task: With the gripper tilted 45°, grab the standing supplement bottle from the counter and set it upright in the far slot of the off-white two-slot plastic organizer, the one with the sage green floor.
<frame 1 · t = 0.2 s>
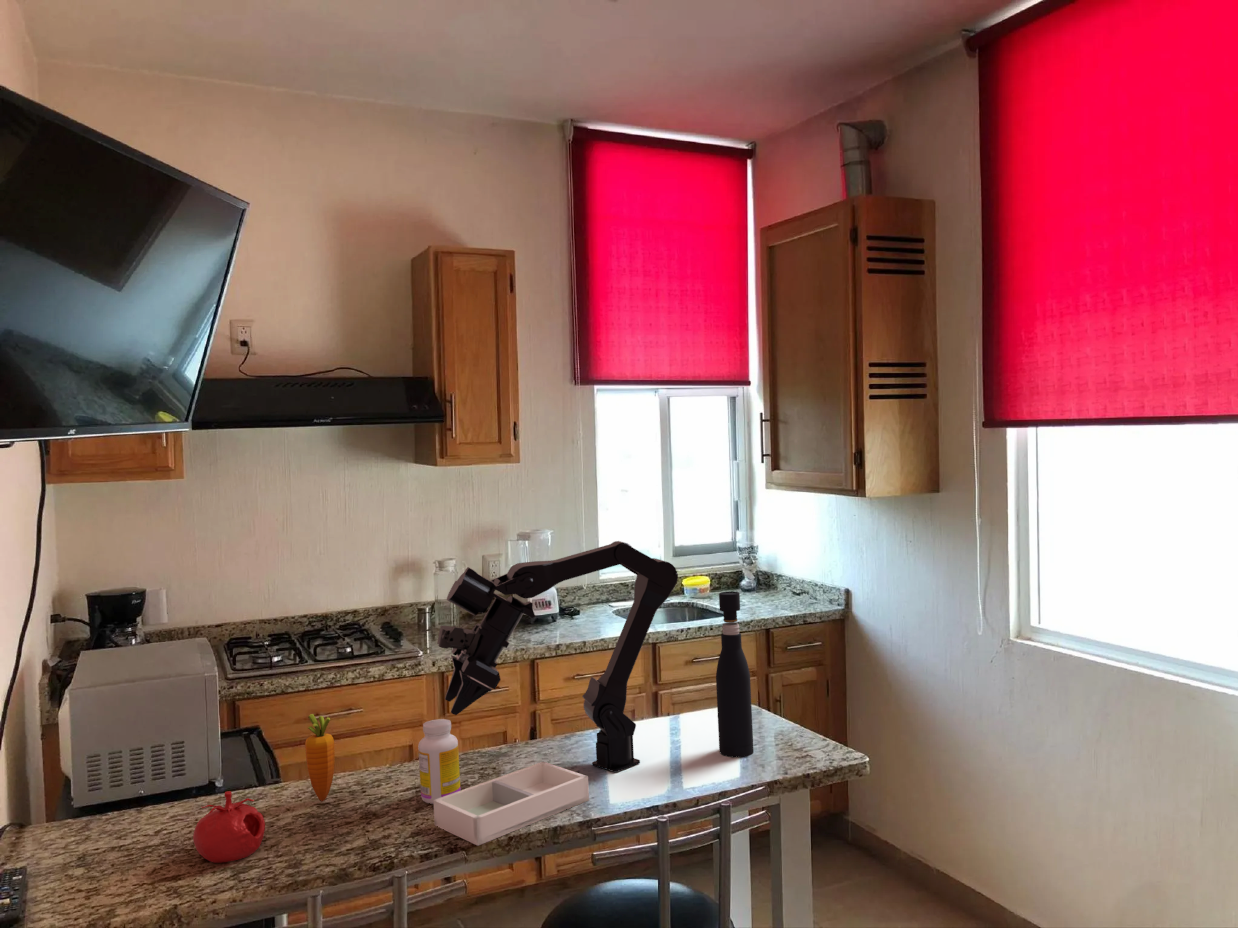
hand: (450, 706, 158), 14 cm above the kitchen counter, tool tilted 35°, fingers open, 9 cm apart
carrot: (322, 802, 155), on the kitchen counter
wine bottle: (736, 752, 171), on the kitchen counter
supplement bottle: (441, 798, 154), on the kitchen counter
red tomato: (231, 855, 136), on the kitchen counter
slot organizer: (513, 812, 147), on the kitchen counter
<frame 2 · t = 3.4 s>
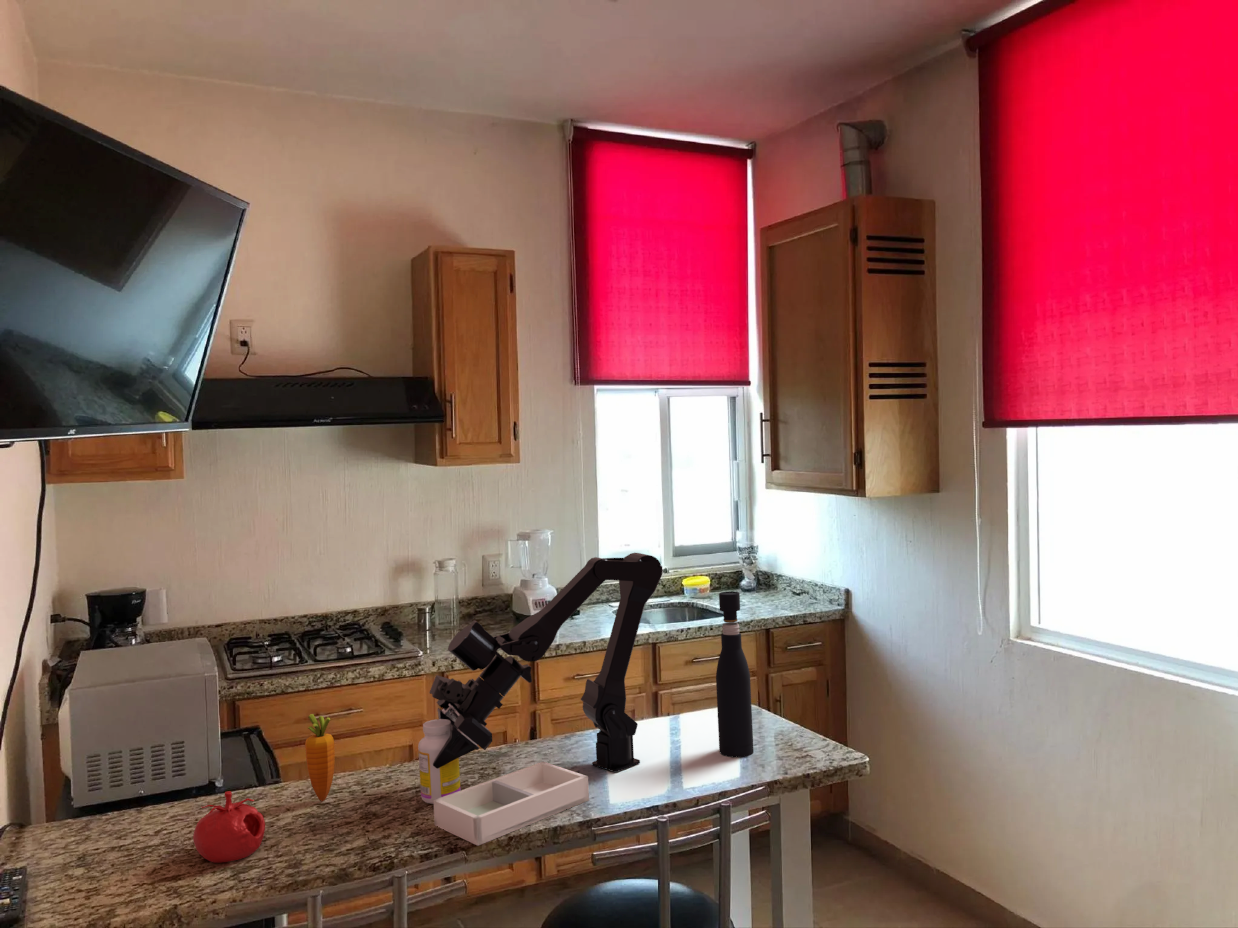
hand: (430, 760, 154), 7 cm above the kitchen counter, tool tilted 45°, fingers closed on supplement bottle, 7 cm apart
supplement bottle: (441, 798, 154), on the kitchen counter, touching gripper
everything else where it was.
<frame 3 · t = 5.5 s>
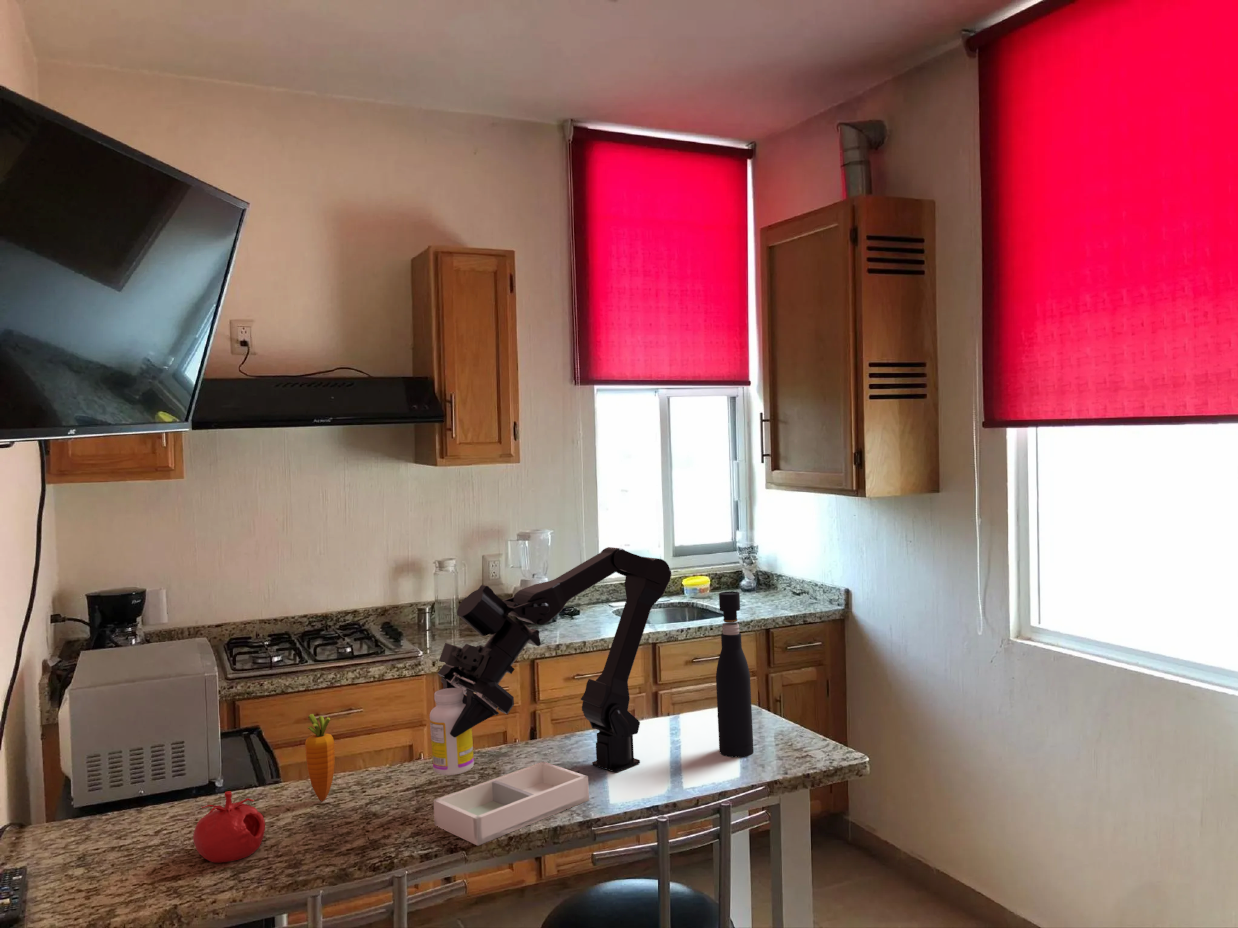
hand: (443, 730, 148), 13 cm above the kitchen counter, tool tilted 45°, fingers closed on supplement bottle, 7 cm apart
supplement bottle: (453, 770, 149), point 6 cm above the kitchen counter, touching gripper
everything else where it was.
when the fingers open (9 cm above the kitchen counter, at t = 7.8 s): supplement bottle drops 1 cm, resting on slot organizer.
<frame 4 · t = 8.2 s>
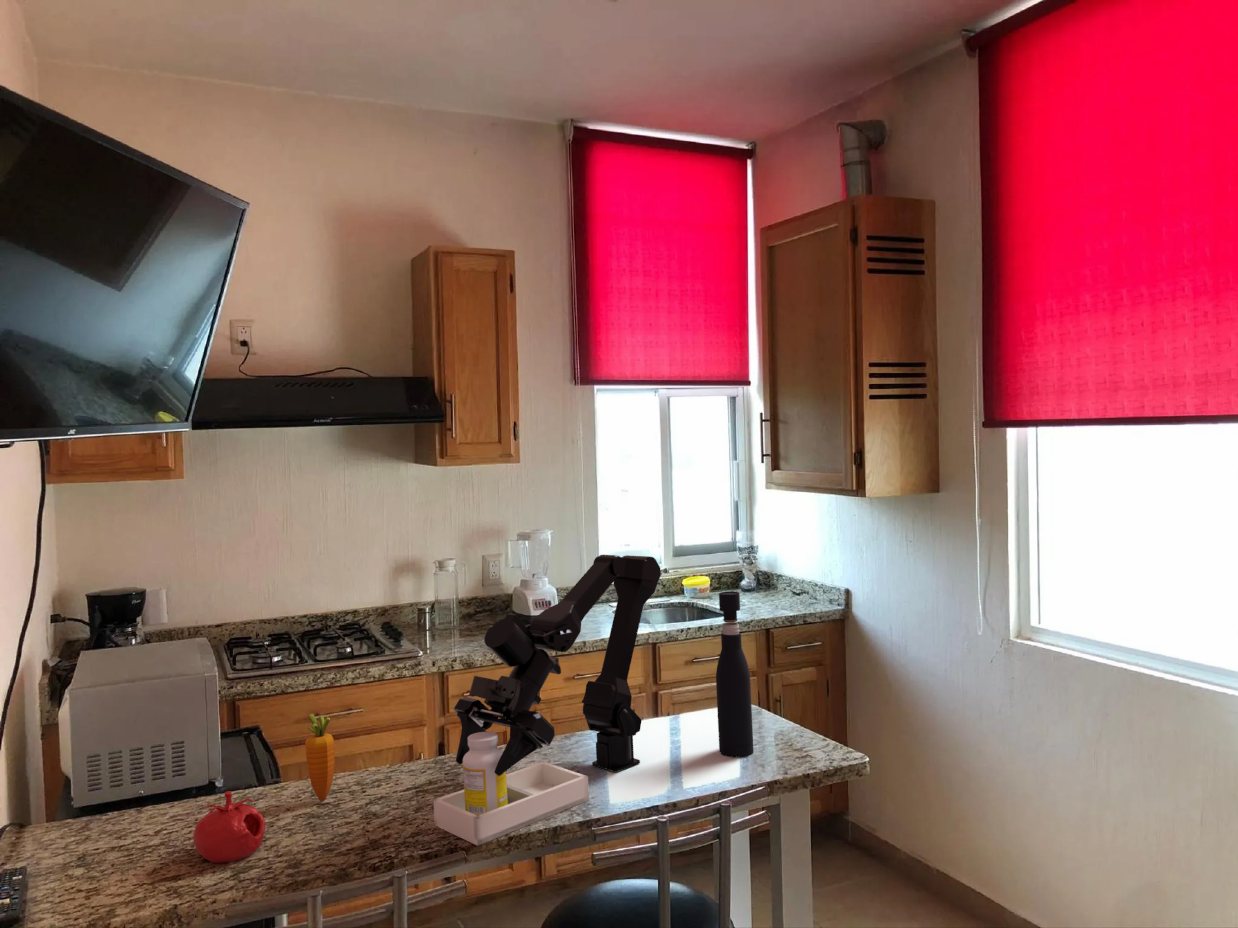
hand: (476, 768, 142), 9 cm above the kitchen counter, tool tilted 45°, fingers open, 9 cm apart
supplement bottle: (486, 817, 143), point 1 cm above the kitchen counter, touching slot organizer
everything else where it was.
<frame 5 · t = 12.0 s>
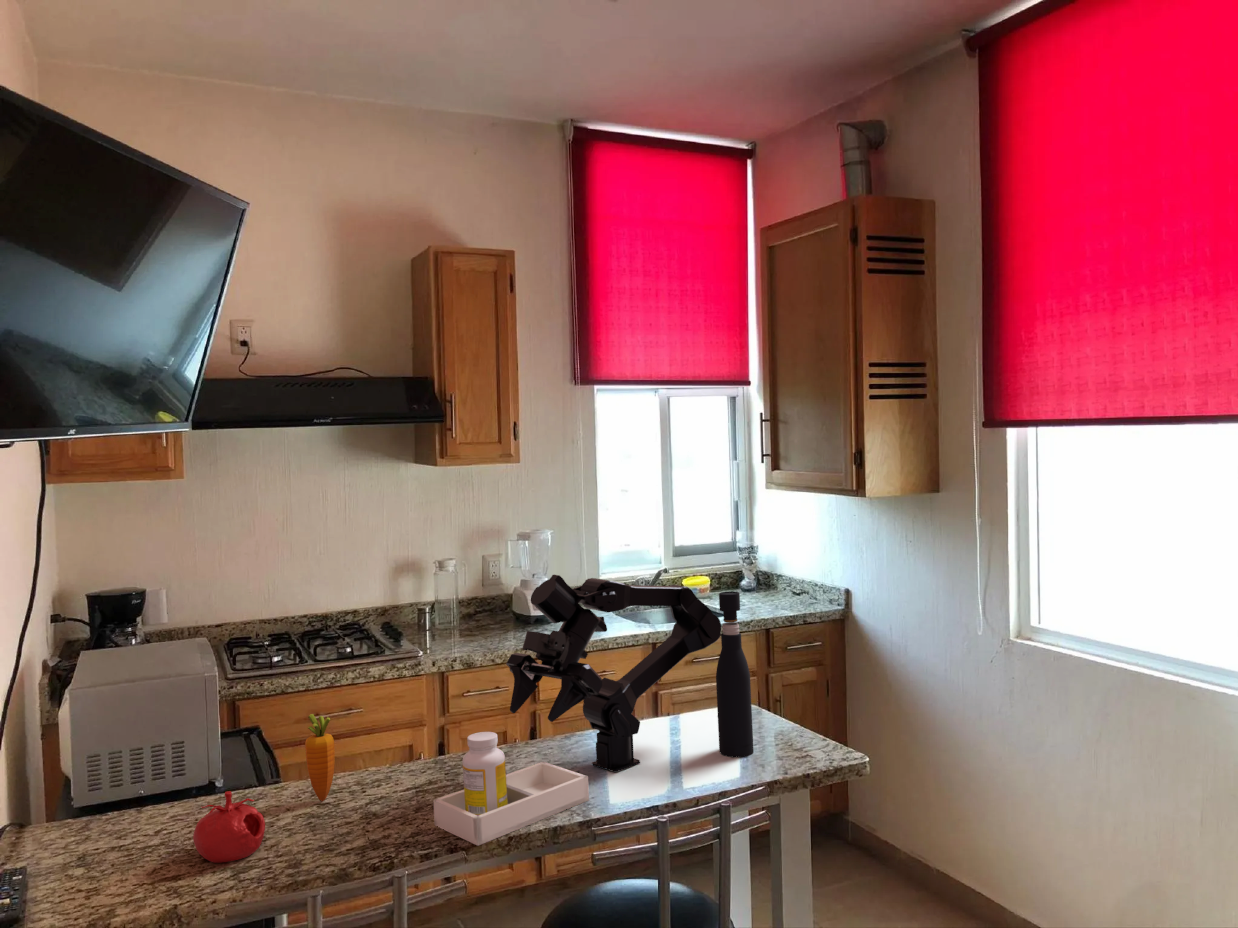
hand: (530, 715, 153), 14 cm above the kitchen counter, tool tilted 45°, fingers open, 9 cm apart
nothing on the kitchen counter moved.
at the end: supplement bottle 0.3 cm from the target spot on the slot organizer, point 0.7 cm above the slot organizer's base; supplement bottle tilted 0°; the gripper is holding nothing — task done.
